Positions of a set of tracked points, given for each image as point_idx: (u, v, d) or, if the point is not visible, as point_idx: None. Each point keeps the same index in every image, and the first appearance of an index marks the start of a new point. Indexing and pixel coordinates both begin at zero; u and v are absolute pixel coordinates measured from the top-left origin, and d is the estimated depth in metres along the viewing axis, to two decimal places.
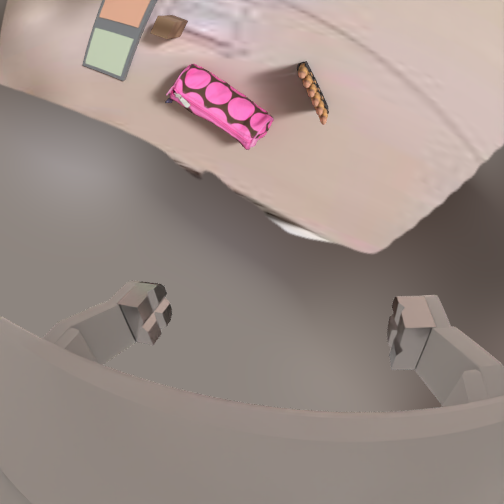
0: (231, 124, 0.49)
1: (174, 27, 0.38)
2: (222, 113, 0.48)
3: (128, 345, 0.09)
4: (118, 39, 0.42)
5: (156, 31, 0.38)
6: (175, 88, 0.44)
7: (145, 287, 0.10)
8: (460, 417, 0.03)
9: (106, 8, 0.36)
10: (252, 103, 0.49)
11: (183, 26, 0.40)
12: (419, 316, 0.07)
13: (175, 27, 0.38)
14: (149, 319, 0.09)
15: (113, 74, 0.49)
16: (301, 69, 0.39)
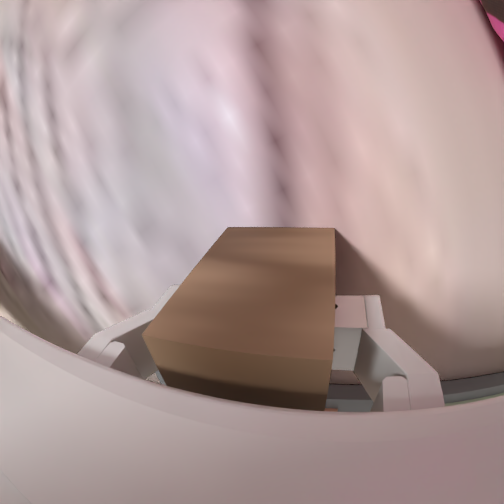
0: None
1: (213, 318, 0.06)
2: None
3: None
4: None
5: None
6: None
7: None
8: (460, 417, 0.03)
9: None
10: None
11: (257, 236, 0.10)
12: (351, 316, 0.07)
13: (218, 304, 0.06)
14: None
15: None
16: None
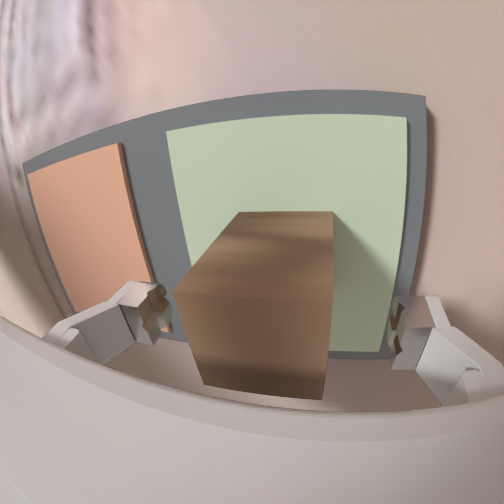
0: None
1: (232, 277, 0.07)
2: None
3: (128, 345, 0.09)
4: (206, 216, 0.13)
5: (297, 377, 0.07)
6: None
7: (145, 287, 0.10)
8: (460, 417, 0.03)
9: None
10: None
11: (265, 218, 0.11)
12: (419, 316, 0.07)
13: (236, 266, 0.08)
14: (149, 319, 0.09)
15: (411, 172, 0.10)
16: None
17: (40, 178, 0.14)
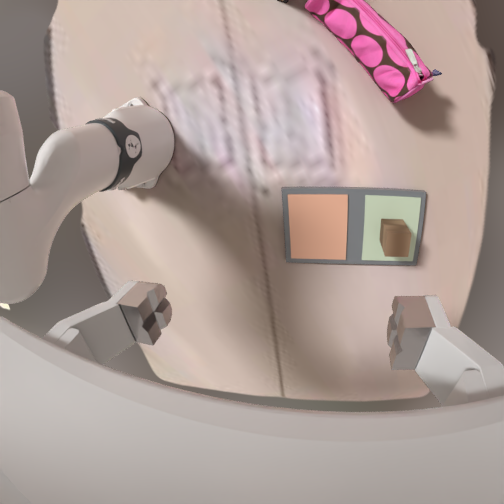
0: (353, 6, 0.23)
1: (395, 230, 0.39)
2: (363, 23, 0.25)
3: (128, 345, 0.09)
4: (371, 219, 0.44)
5: (404, 250, 0.39)
6: (417, 80, 0.26)
7: (145, 287, 0.10)
8: (460, 417, 0.03)
9: (332, 253, 0.49)
10: (327, 27, 0.30)
11: (389, 220, 0.42)
12: (419, 316, 0.07)
13: (394, 229, 0.39)
14: (149, 319, 0.09)
15: (421, 210, 0.41)
16: None
17: (299, 198, 0.46)
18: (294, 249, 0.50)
